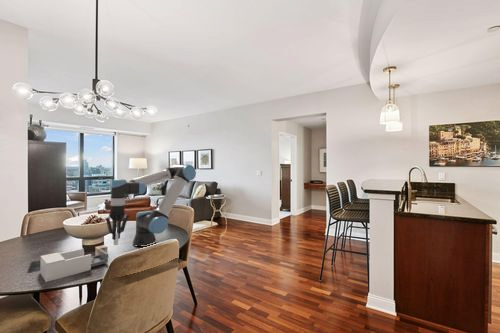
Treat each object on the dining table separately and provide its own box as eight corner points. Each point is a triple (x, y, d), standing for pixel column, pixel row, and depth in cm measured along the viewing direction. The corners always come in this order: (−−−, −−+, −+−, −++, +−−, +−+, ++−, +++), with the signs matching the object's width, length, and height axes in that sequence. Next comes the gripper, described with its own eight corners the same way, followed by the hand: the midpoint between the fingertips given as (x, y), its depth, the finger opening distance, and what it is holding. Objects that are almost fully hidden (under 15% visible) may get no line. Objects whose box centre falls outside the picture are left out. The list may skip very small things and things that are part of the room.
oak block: (104, 252, 146) (104, 244, 146) (107, 254, 143) (107, 246, 143) (95, 255, 142) (95, 246, 142) (98, 257, 139) (98, 248, 139)
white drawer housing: (82, 262, 131) (83, 247, 131) (90, 269, 122) (91, 253, 122) (40, 272, 117) (40, 255, 117) (45, 282, 108) (46, 263, 108)
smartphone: (27, 272, 116) (30, 262, 128) (26, 274, 116) (30, 263, 128) (46, 268, 121) (48, 259, 133) (46, 270, 121) (48, 260, 133)
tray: (100, 257, 137) (100, 248, 137) (107, 262, 129) (108, 253, 129) (64, 266, 123) (64, 256, 123) (70, 272, 116) (70, 262, 116)
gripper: (126, 203, 146) (124, 240, 145) (103, 205, 136) (101, 245, 135) (131, 204, 141) (129, 243, 140) (108, 206, 131) (105, 248, 130)
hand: (115, 244), depth 138 cm, fingers closed
